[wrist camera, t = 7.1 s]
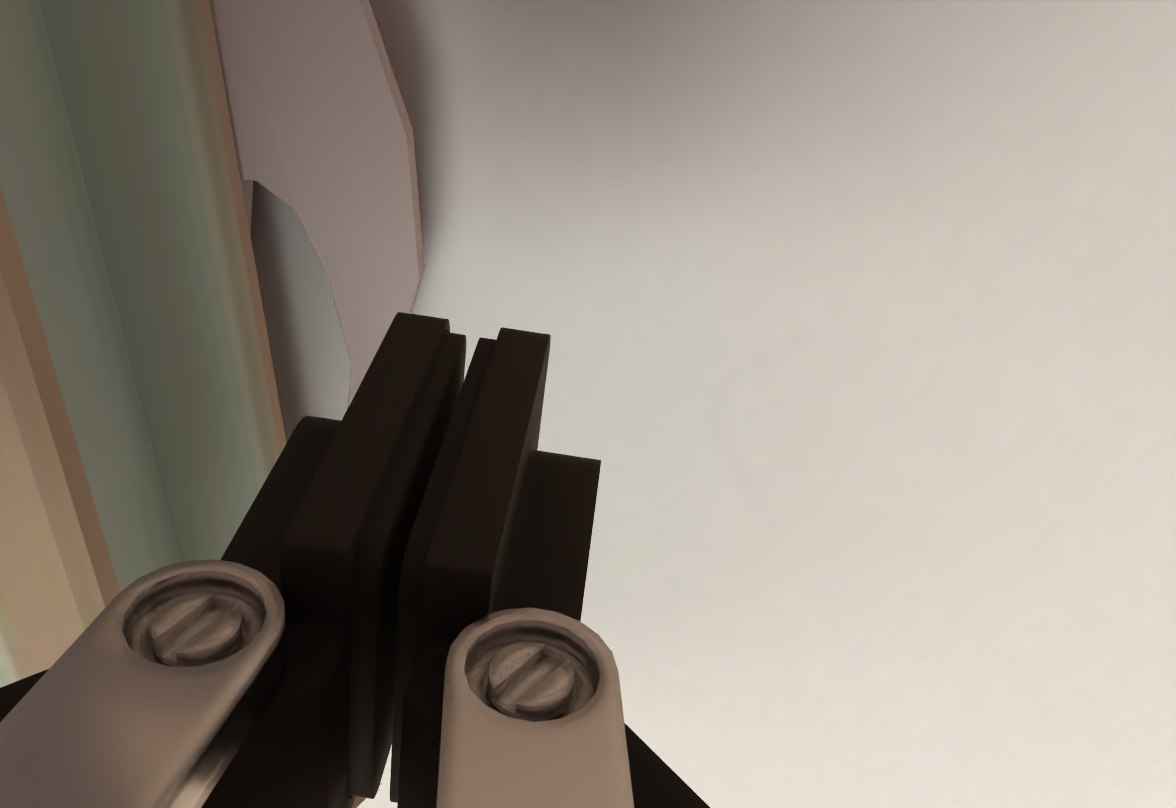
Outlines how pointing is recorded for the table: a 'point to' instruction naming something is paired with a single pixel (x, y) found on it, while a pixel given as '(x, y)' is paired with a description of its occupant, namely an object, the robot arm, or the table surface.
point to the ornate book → (171, 274)
